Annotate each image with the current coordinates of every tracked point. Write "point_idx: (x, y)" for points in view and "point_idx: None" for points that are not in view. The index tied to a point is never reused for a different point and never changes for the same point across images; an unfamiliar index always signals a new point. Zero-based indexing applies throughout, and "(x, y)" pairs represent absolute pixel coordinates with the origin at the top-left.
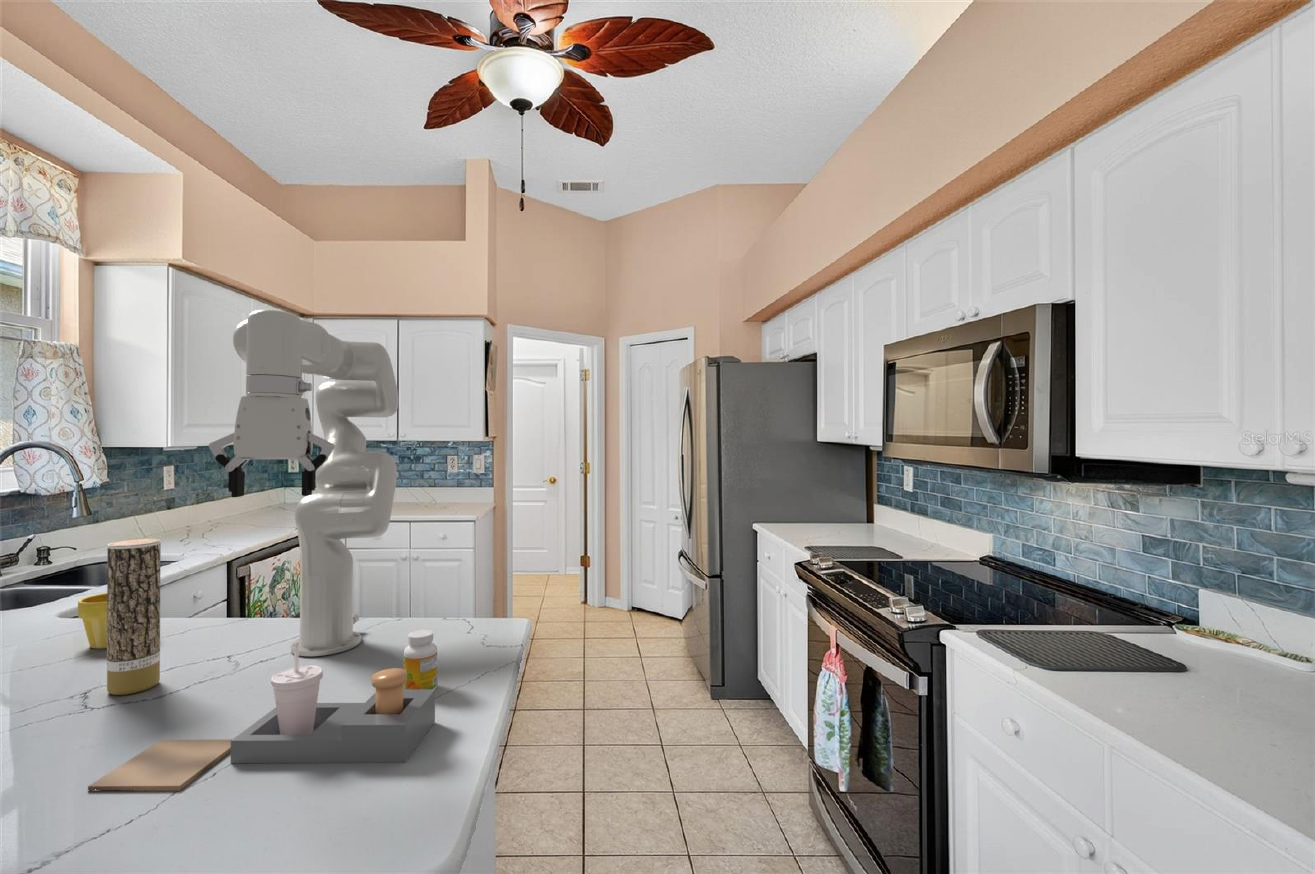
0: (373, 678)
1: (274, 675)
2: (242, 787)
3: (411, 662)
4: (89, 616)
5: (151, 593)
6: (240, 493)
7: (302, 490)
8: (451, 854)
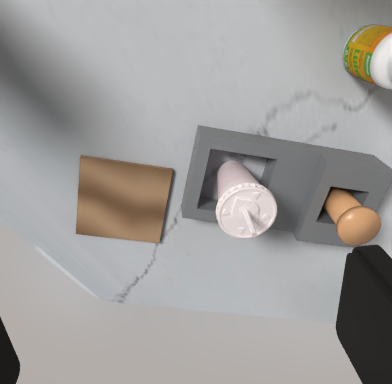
0: (341, 235)
1: (219, 215)
2: (210, 242)
3: (377, 85)
4: None
5: None
6: (1, 345)
7: (351, 355)
8: None
